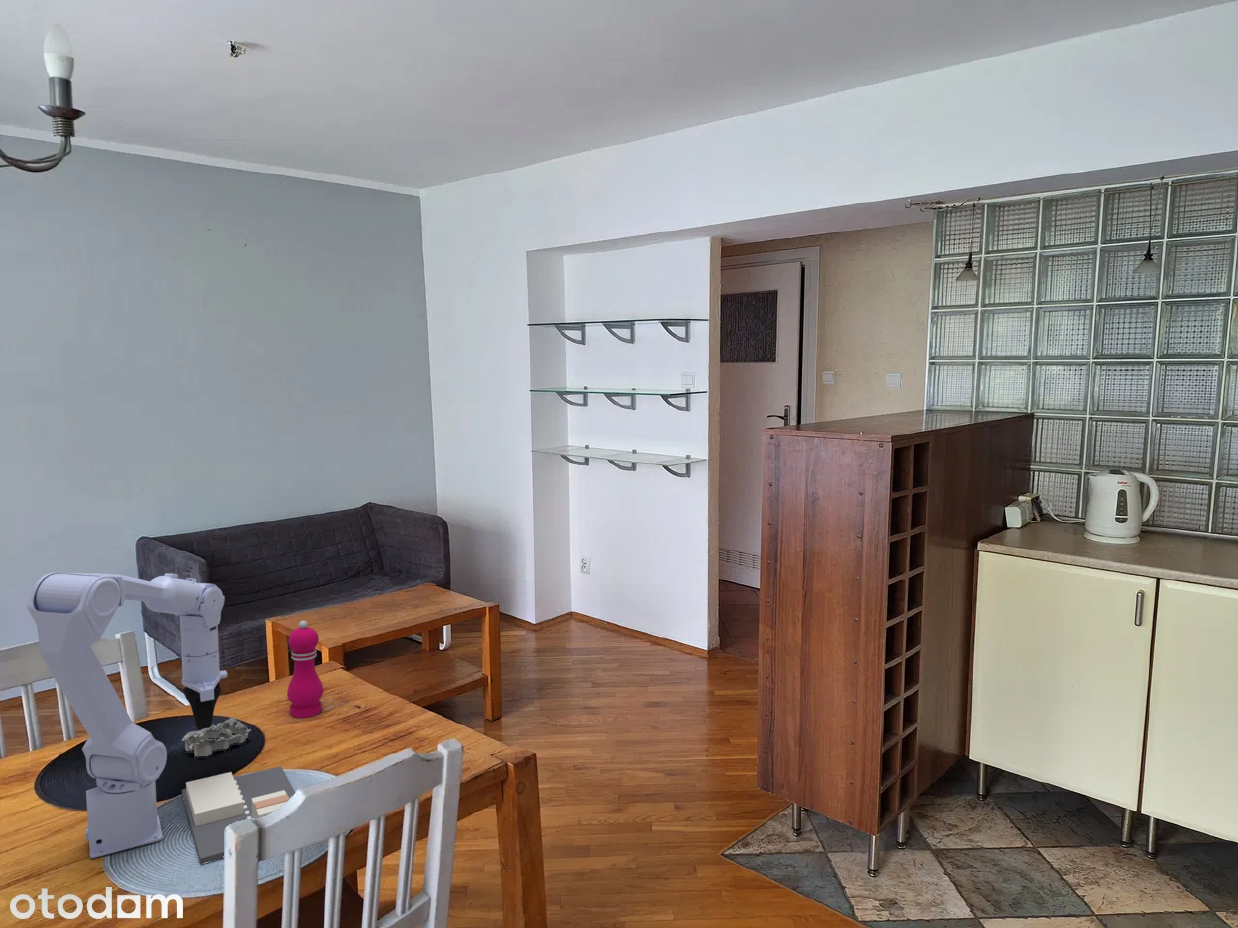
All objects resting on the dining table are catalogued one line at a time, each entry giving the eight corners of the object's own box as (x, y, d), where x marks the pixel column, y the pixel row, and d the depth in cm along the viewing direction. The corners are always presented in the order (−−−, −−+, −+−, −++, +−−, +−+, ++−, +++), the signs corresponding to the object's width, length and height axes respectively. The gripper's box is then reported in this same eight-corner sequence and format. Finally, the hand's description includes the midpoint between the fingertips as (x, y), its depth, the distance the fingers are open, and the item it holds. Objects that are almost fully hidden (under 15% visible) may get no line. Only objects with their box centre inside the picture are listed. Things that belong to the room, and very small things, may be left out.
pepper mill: (286, 708, 178) (283, 617, 176) (322, 703, 181) (319, 614, 179) (288, 721, 172) (285, 627, 169) (325, 715, 175) (322, 623, 172)
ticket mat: (200, 864, 121) (199, 845, 121) (182, 795, 141) (181, 778, 141) (313, 832, 130) (313, 814, 130) (281, 771, 150) (280, 755, 150)
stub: (259, 833, 128) (258, 813, 128) (252, 816, 133) (251, 797, 133) (293, 824, 131) (292, 804, 130) (285, 807, 136) (284, 788, 135)
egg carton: (198, 763, 154) (197, 742, 153) (179, 751, 158) (178, 731, 158) (253, 743, 162) (252, 723, 161) (235, 733, 166) (234, 713, 166)
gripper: (232, 659, 139) (235, 737, 140) (219, 636, 151) (222, 707, 152) (185, 667, 135) (189, 746, 136) (175, 642, 147) (179, 716, 148)
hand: (203, 727), depth 144 cm, fingers closed
